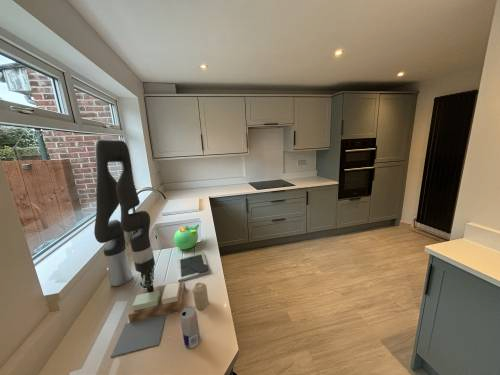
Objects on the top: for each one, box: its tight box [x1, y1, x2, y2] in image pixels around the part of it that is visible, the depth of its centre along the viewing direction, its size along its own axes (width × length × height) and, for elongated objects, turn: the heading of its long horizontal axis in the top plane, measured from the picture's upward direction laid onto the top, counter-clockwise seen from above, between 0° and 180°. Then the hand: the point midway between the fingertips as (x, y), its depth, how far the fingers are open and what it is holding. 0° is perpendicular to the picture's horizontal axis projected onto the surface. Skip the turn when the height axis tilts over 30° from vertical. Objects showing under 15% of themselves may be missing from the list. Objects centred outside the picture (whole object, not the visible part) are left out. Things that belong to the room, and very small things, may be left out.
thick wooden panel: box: [127, 280, 187, 323], centre depth 87 cm, size 20×14×4 cm
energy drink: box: [179, 306, 201, 349], centre depth 68 cm, size 5×5×12 cm
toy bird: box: [173, 223, 200, 250], centre depth 135 cm, size 18×17×15 cm
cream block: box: [162, 281, 180, 304], centre depth 86 cm, size 9×6×2 cm, turn 13°
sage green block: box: [131, 290, 160, 311], centre depth 83 cm, size 9×6×2 cm, turn 103°
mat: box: [110, 314, 167, 358], centre depth 73 cm, size 15×13×1 cm
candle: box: [192, 282, 209, 311], centre depth 84 cm, size 6×6×10 cm
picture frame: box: [176, 252, 210, 282], centre depth 112 cm, size 16×3×21 cm
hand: (151, 292), depth 88 cm, fingers closed
